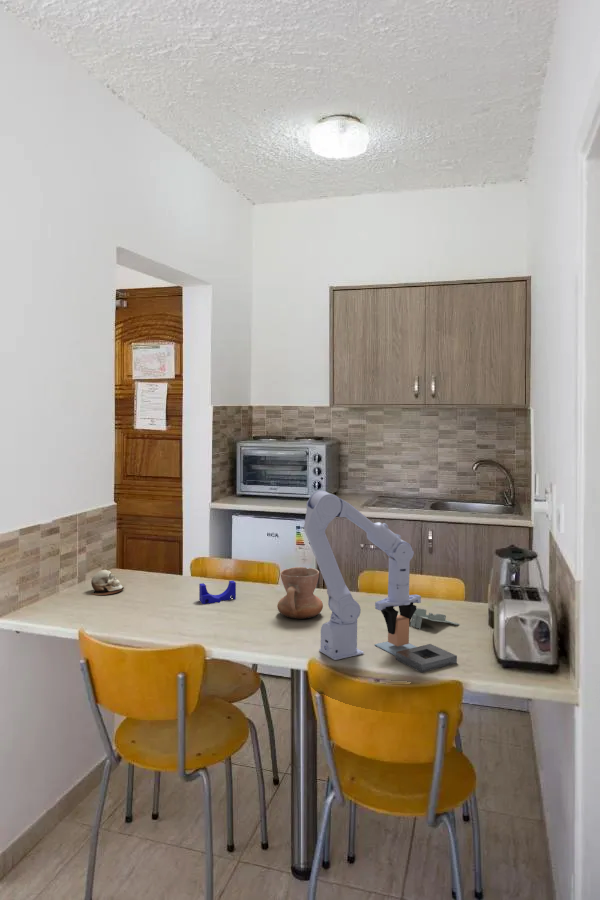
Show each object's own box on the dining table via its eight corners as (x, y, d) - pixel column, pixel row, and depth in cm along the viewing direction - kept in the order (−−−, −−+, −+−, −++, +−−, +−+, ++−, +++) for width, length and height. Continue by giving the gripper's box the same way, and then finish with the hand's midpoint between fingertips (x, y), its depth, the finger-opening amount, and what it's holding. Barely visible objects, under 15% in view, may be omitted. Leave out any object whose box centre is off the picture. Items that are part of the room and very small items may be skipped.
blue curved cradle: (202, 604, 219) (202, 587, 219) (199, 601, 223) (199, 583, 223) (237, 600, 224) (237, 583, 223) (233, 597, 228) (233, 580, 227)
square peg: (397, 646, 177) (397, 621, 177) (388, 641, 180) (388, 616, 180) (408, 643, 179) (409, 618, 179) (399, 639, 182) (399, 614, 182)
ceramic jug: (289, 605, 219) (289, 563, 218) (330, 609, 213) (330, 567, 212) (266, 622, 202) (266, 576, 201) (310, 627, 197) (309, 581, 195)
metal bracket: (437, 615, 191) (396, 603, 202) (433, 635, 191) (392, 622, 201) (463, 619, 201) (423, 608, 212) (459, 638, 200) (419, 626, 211)
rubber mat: (395, 655, 174) (395, 654, 174) (374, 645, 182) (374, 644, 182) (421, 649, 179) (421, 648, 179) (399, 639, 186) (399, 638, 186)
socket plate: (421, 672, 163) (421, 664, 163) (395, 659, 171) (395, 651, 171) (456, 663, 169) (456, 655, 169) (430, 651, 178) (430, 643, 177)
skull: (127, 583, 241) (124, 567, 234) (122, 608, 234) (118, 592, 226) (94, 582, 240) (90, 566, 233) (88, 606, 233) (83, 591, 226)
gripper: (387, 590, 172) (386, 640, 173) (428, 582, 179) (427, 631, 180) (370, 583, 178) (369, 632, 179) (411, 577, 185) (410, 624, 186)
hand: (397, 631), depth 180 cm, fingers closed on square peg, 4 cm apart
